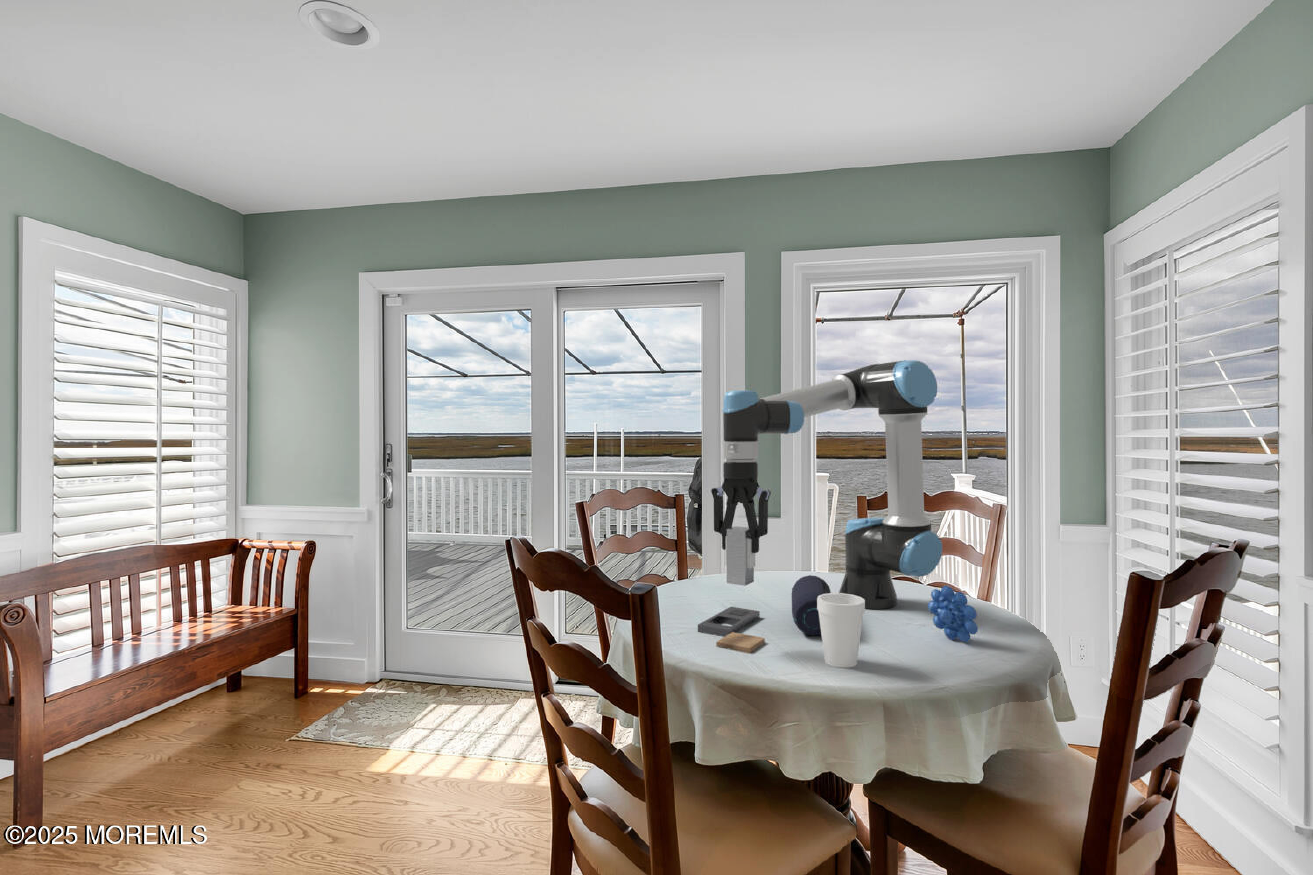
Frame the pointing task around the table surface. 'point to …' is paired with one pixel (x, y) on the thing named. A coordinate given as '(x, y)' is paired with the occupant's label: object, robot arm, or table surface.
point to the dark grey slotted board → (729, 621)
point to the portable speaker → (808, 603)
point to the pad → (741, 642)
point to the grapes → (953, 614)
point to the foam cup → (840, 627)
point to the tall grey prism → (738, 557)
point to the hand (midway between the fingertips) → (740, 565)
